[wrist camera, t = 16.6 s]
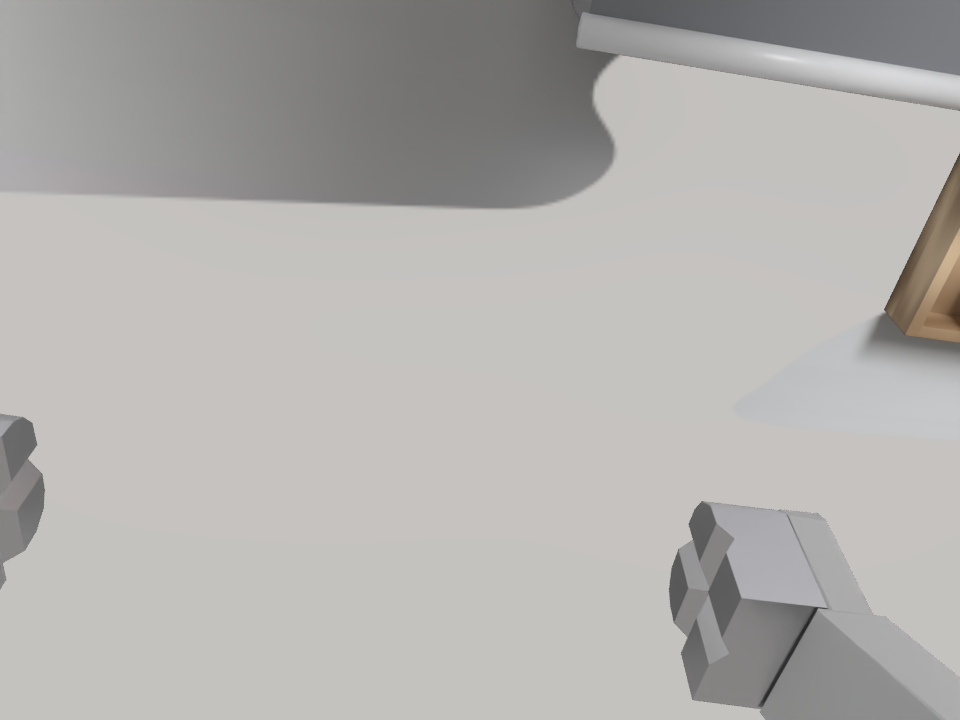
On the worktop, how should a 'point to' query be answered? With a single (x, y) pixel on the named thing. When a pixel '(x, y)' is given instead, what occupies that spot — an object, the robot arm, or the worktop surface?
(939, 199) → the tray
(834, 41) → the dispenser
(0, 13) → the worktop surface
